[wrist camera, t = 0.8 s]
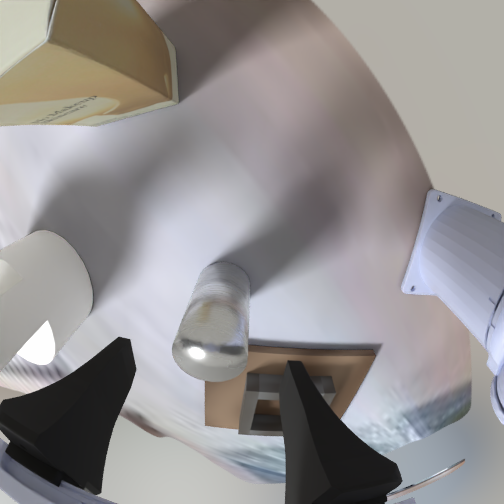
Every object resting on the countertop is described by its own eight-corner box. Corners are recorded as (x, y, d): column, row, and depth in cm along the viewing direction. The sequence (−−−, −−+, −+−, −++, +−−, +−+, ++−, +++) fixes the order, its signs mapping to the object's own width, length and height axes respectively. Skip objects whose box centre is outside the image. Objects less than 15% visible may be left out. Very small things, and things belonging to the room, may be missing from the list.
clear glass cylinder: (253, 265, 18) (252, 332, 11) (247, 310, 19) (243, 385, 13) (198, 259, 18) (169, 322, 11) (197, 304, 19) (174, 375, 13)
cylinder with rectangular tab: (55, 332, 21) (-9, 414, 9) (9, 254, 18) (-75, 314, 7) (112, 309, 19) (34, 422, 8) (57, 210, 17) (-65, 273, 5)
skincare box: (95, 128, 14) (-64, 143, 3) (92, 72, 13) (-50, 41, 1) (185, 104, 14) (46, 40, 3) (180, 43, 13) (76, -68, 1)
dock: (373, 349, 21) (383, 371, 18) (331, 424, 25) (335, 443, 23) (206, 339, 20) (201, 364, 18) (206, 419, 25) (202, 440, 22)
